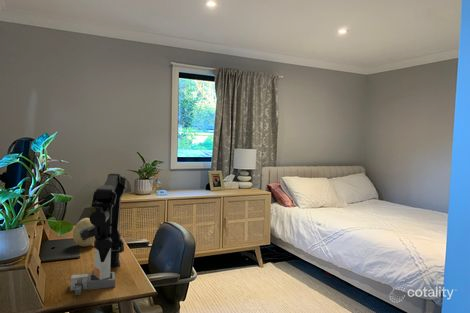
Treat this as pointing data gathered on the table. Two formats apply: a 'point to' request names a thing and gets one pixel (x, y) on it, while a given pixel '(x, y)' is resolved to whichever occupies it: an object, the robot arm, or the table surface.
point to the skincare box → (102, 266)
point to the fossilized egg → (76, 233)
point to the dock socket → (100, 281)
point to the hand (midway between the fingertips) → (102, 258)
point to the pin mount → (79, 277)
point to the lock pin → (78, 287)
